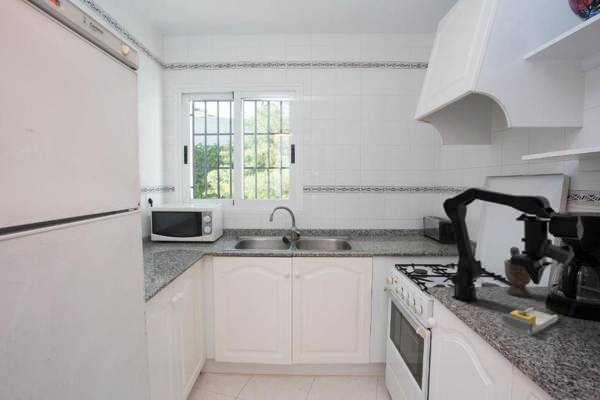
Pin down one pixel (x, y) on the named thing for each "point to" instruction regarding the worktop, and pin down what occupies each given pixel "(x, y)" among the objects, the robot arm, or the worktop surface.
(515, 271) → the mortar and pestle
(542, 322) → the rail
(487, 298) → the worktop surface
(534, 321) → the carriage
